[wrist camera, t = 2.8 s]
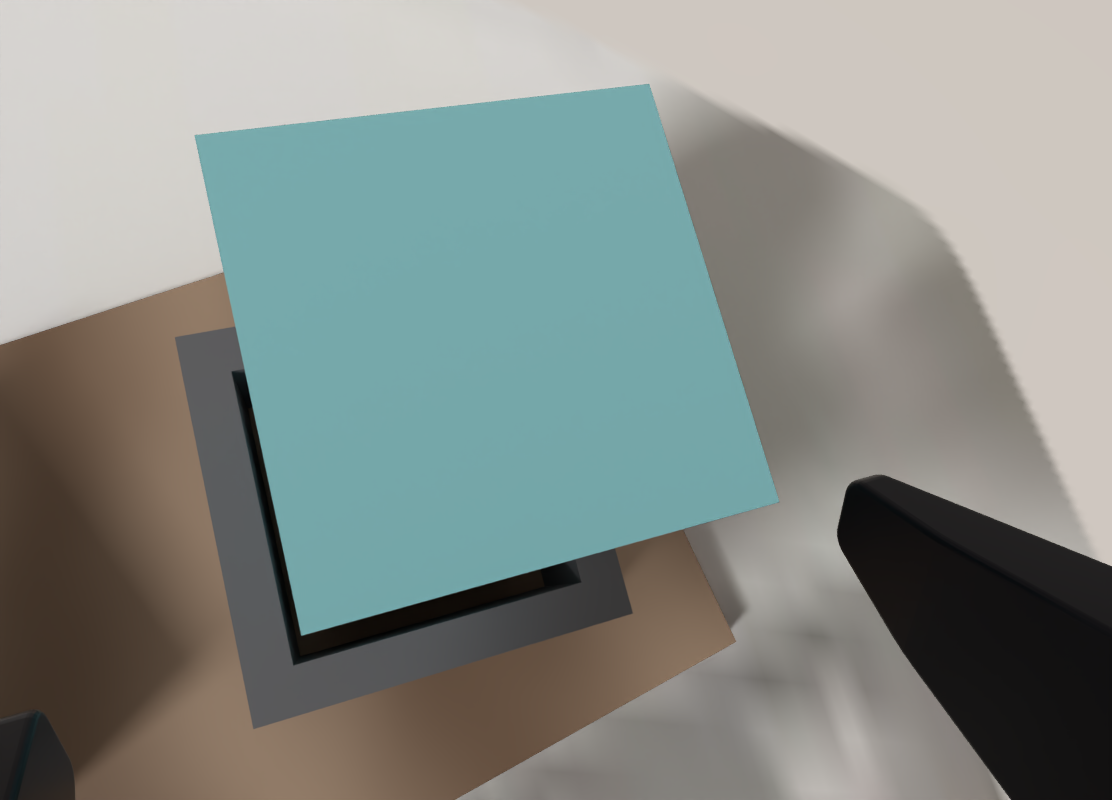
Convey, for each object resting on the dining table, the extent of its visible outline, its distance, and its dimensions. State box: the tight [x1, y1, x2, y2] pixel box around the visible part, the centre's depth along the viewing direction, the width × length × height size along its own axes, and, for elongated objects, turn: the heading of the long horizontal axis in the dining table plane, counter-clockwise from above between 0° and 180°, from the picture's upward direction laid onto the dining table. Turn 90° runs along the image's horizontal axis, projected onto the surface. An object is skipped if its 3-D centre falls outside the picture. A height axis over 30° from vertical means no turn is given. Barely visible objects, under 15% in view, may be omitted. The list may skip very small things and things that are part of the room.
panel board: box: [0, 273, 736, 800], centre depth 17 cm, size 24×12×1 cm, turn 116°
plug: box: [195, 84, 779, 636], centre depth 13 cm, size 4×4×12 cm
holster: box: [175, 327, 633, 729], centre depth 17 cm, size 7×7×3 cm
